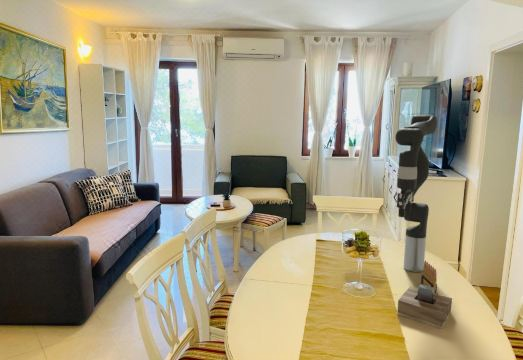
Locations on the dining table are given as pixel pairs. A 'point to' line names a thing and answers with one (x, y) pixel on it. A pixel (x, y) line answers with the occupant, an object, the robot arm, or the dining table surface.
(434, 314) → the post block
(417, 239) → the robot arm
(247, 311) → the dining table surface
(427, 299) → the gray rectangular block
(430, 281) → the ammunition clip
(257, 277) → the dining table surface
